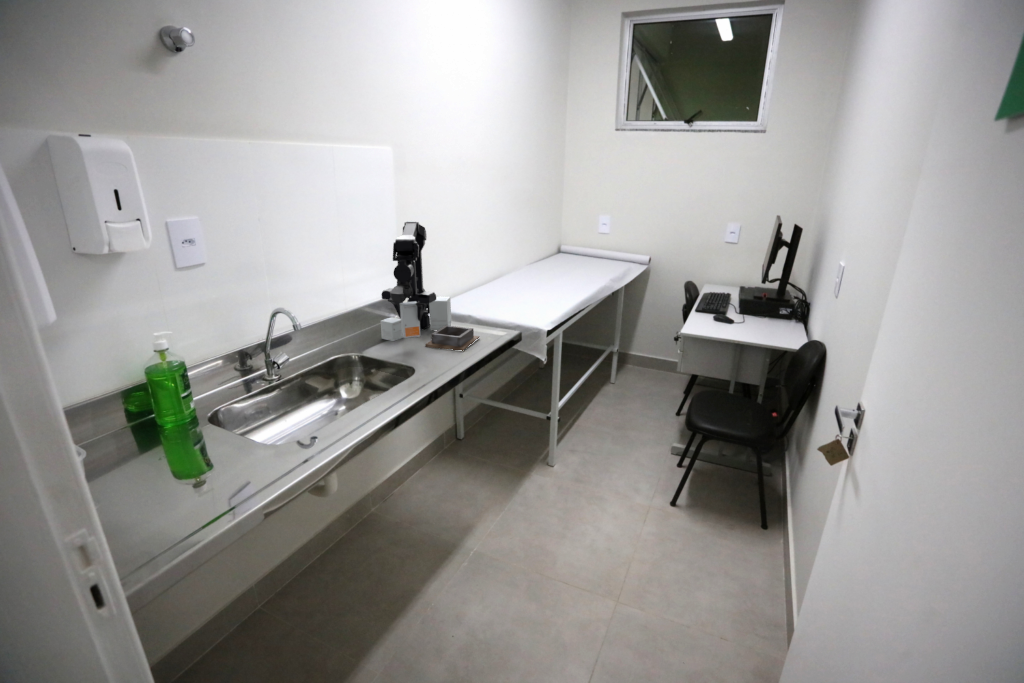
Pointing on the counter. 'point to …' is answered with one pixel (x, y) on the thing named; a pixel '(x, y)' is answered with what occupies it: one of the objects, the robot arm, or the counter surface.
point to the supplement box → (440, 313)
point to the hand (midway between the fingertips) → (410, 319)
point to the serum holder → (452, 338)
